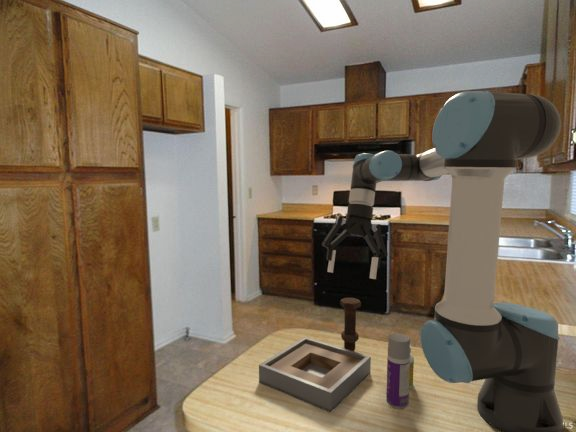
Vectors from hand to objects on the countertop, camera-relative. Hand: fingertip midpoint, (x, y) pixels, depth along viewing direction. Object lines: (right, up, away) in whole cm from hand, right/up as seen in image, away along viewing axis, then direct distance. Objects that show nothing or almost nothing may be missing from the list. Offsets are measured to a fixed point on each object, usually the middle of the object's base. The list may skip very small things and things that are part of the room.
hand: (351, 275), depth 112 cm
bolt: (-1, -21, -3) cm, 22 cm away
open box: (-12, -23, -18) cm, 31 cm away
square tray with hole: (-12, -23, -18) cm, 31 cm away
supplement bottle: (+9, -23, -20) cm, 32 cm away
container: (+6, -24, -28) cm, 37 cm away
